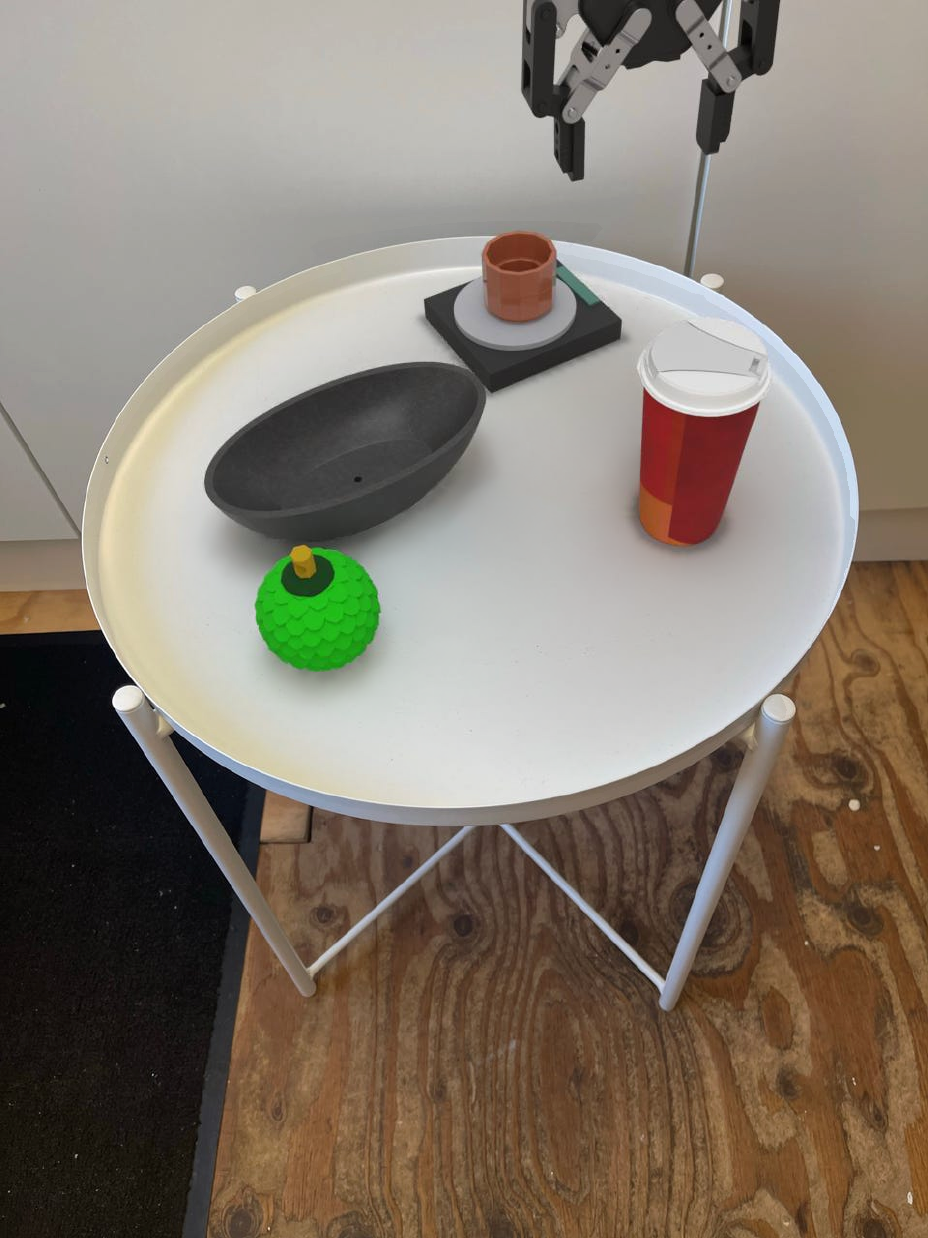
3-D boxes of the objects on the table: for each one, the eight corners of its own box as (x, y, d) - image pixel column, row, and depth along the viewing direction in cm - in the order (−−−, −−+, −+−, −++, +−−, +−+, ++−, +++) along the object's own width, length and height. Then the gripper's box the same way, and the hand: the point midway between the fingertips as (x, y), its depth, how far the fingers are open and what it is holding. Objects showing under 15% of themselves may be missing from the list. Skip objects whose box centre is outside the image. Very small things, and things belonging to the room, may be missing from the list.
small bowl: (543, 276, 86) (543, 225, 82) (563, 317, 82) (564, 265, 78) (477, 289, 85) (474, 238, 81) (495, 331, 82) (493, 280, 78)
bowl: (522, 484, 75) (521, 424, 70) (261, 607, 69) (239, 552, 64) (445, 395, 81) (439, 335, 76) (201, 502, 76) (177, 444, 71)
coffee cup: (748, 492, 73) (791, 328, 61) (717, 571, 69) (756, 412, 57) (642, 463, 75) (662, 299, 63) (605, 538, 71) (620, 378, 59)
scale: (548, 269, 91) (548, 244, 88) (620, 338, 84) (622, 313, 82) (425, 317, 87) (422, 293, 85) (491, 393, 81) (489, 368, 79)
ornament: (247, 664, 66) (207, 574, 58) (316, 582, 70) (288, 487, 62) (343, 714, 64) (315, 627, 56) (409, 626, 68) (392, 532, 59)
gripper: (539, -113, 44) (544, 216, 57) (838, -167, 45) (775, 170, 58) (500, -164, 48) (513, 153, 61) (772, -212, 49) (728, 110, 62)
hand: (640, 161), depth 60 cm, fingers open, 8 cm apart
